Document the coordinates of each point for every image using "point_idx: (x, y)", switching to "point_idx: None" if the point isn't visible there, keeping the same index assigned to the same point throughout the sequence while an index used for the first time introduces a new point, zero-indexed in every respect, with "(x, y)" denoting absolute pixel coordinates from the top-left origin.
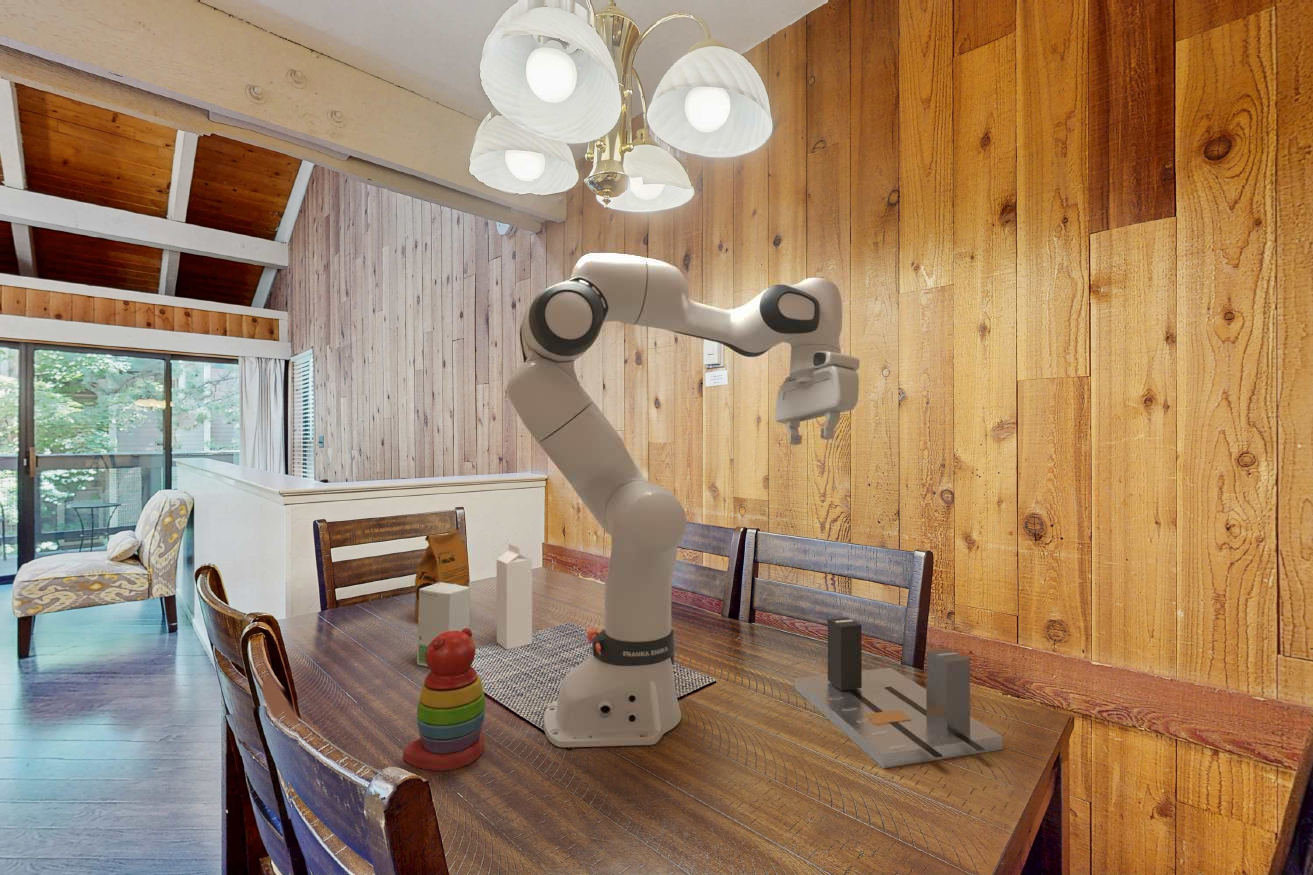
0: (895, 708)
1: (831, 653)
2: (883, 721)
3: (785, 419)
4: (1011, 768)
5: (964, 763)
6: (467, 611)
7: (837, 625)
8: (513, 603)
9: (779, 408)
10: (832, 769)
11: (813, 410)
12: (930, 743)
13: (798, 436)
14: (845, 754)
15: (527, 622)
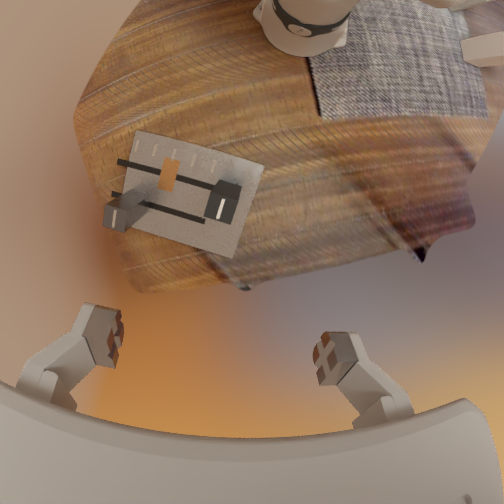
0: (175, 193)
1: (233, 190)
2: (164, 166)
3: (418, 414)
4: None
5: (121, 182)
6: (472, 1)
7: (217, 194)
8: (485, 40)
9: (473, 449)
10: (156, 98)
11: (114, 431)
12: (130, 170)
13: (325, 370)
14: (164, 119)
15: (474, 54)
